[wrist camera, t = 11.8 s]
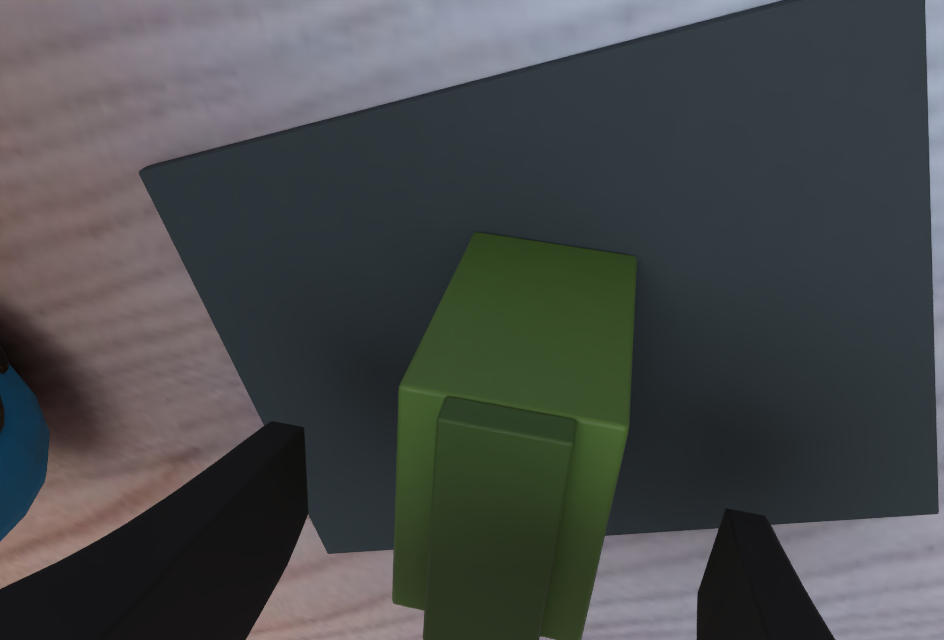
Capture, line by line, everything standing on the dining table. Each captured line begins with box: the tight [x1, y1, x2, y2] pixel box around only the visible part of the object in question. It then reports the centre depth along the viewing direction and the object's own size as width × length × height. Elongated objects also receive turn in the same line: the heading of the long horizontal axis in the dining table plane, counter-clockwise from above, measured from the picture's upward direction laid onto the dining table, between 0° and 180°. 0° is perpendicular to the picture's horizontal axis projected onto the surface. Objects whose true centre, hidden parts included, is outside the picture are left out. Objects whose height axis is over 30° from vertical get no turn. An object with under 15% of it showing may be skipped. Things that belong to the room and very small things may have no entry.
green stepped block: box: [392, 232, 637, 640], centre depth 15 cm, size 5×4×6 cm
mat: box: [139, 0, 939, 554], centre depth 18 cm, size 12×16×1 cm
